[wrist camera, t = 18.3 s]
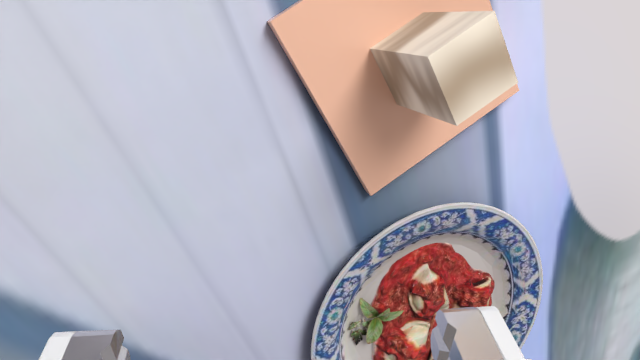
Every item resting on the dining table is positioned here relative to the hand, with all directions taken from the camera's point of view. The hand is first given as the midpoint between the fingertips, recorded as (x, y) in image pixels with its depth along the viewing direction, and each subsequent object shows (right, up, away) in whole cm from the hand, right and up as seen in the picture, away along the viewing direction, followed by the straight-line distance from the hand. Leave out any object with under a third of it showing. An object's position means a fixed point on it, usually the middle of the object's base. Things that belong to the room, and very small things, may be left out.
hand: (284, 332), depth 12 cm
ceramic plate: (+12, -9, +34) cm, 37 cm away
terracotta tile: (+8, +14, +24) cm, 28 cm away
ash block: (+8, +13, +23) cm, 28 cm away
